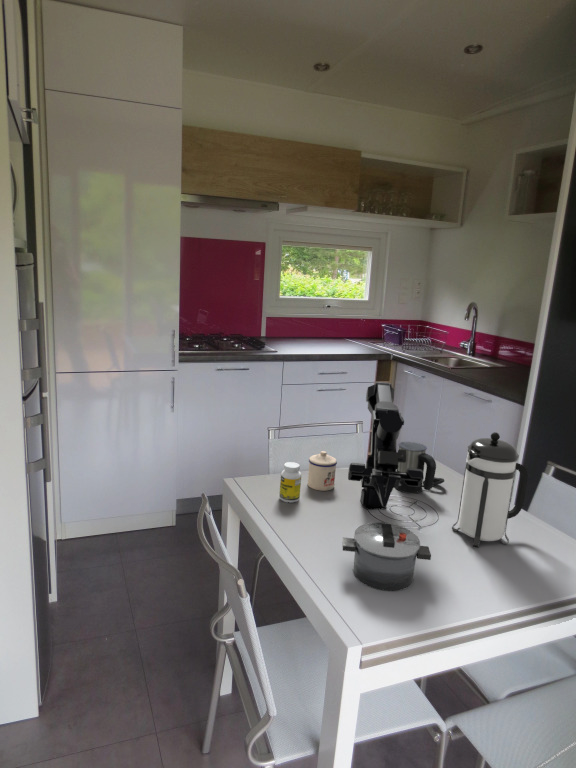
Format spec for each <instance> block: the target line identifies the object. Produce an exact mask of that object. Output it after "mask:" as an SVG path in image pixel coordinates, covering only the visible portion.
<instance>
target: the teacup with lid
mask: <svg viewBox="0 0 576 768" xmlns="http://www.w3.org/2000/svg"><path fill="white" fill-rule="evenodd" d="M327 453H328V452H327V451H325V450H321V451H320V453H317V454H313V455H311V456H309V459H308V462H309V463H308V464H309V465H308V473H307V474H308V477H307V486H308V487H309V488H311V489H312V490H316V491H322V492H324V491H325V492H326V491H330V490H333V488H335V479H336V468H337V464H338V461H337V458H335V457H334V456H331V455H329V454H327Z"/></svg>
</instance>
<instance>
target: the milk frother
mask: <svg viewBox="0 0 576 768" xmlns="http://www.w3.org/2000/svg"><path fill="white" fill-rule="evenodd" d="M397 446H398V450H399V449H401V450H406V462H405V463H401V462H399V463H398V469H396V472H405V473H406V471H407V469H408V468H413V469H421V470H422V471H423V473H424V472H425V474H424V479H423V481H422V483H421V485H420V486H419V487H414V486H407V485H406V484H405V483H404V480H400V483H399V485H398V487H397V488H395V489H396V490H398V491H400V492H403V493H406V494H417V493H421V492H423V490H426V491H429V490H431V489H432V488H433V486H438V485H441V484H443V483H444V482H445V479H444V478H442V477H436V476H435V474H436V470H437V469H436V468H437V463H436V460H435V458H434V457H433V456H431V454H428V453H426V451H427V449H428V447H427V446H426V445H424V444H423V443H421V442H419V443H418V442H415V441H401V442H399V443H398V444H397ZM425 465H426V470H425V471H424V469H425Z"/></svg>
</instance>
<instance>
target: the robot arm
mask: <svg viewBox="0 0 576 768" xmlns="http://www.w3.org/2000/svg"><path fill="white" fill-rule="evenodd" d="M392 386H393V385H392V383H390V382H385V381H376V382H374V384H372V385H370V386H368V387H367V390H366V395H365V403H367V410H368V411H369V412H370V415H371V436H370V437H371V438H370V439H371V440H370V442H371V444H370V455H369V456H368V458H367V460H366V462H365V463H360V462H351V463H350V464H349V466H348V471H347V472H348V475H347V480H348V481H354V482H360V483H361V484H360V486H361V488H362V489H361V494H360V499H359V501H360V503H361V504H362V505H363V507H364V509H365V510H387V505H388V503H389V499H390V496H391V494H392V492H393V490H394V489H396V488H397V487H398V485H399V483H400V480H404V483H405V484H406V485H407V486H414V487H419V486H420V485H421V483H422V484H423V482H422V481H424V480H425V474H424V472H423V471H422V470H421V469H413V468H408V469H407V471H406V473H405V472H397V469H398V463H399V462H401V463H405V462H406V450H401V449H399V448H398V447H397V446H398V444H397V440H398V438H399V436H400V433H401V430H402V428H403V426H404V425H405V420H404V417H403V416H402V413H401V412H400V410H399V407H398V406H397V405H396V404H394V401H395V389H394V388H393V387H392ZM397 448H398V451H397Z"/></svg>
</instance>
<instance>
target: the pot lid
mask: <svg viewBox="0 0 576 768" xmlns="http://www.w3.org/2000/svg"><path fill="white" fill-rule="evenodd" d="M353 537H354V538H353V539H354V540H355V542H356V544H357V545H358V546H359V547H360V548H362V549H363V550H365V551H366V552H368V553H371V554H373V555H376V556H379V557H384V558H391V559H402V558H408V557H411V556H413V555H415V554H416V553H418V551H419V549H420V546H421V541H420V538H419V536H417V534H416V533H414V532H413V531H411V530H410V529H408V528H406V527H403V526H401V525H397V524H394V523H389V522H375V521H374V522H369V523H363V524H360V525H359V526H358V527H357V528H355V531H354V535H353Z"/></svg>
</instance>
